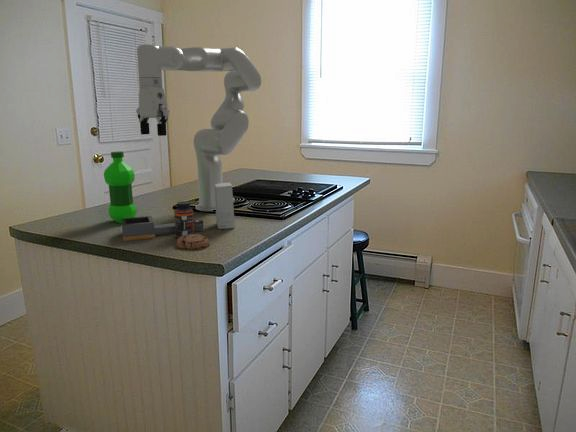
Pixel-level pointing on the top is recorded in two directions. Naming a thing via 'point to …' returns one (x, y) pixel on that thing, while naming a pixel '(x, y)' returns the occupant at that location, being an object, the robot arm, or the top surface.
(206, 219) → the top surface
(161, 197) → the top surface
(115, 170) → the plastic bottle
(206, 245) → the cookie
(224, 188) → the skincare box
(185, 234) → the supplement bottle
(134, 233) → the grey long handled piece
